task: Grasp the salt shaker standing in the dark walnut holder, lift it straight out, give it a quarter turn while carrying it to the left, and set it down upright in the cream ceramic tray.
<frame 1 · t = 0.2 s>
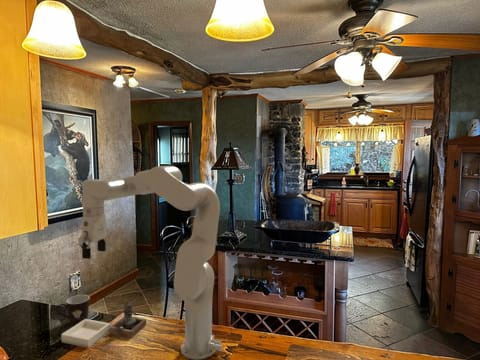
hand: (94, 254, 127), 30 cm above the worktop, fingers open, 9 cm apart
coffee mug: (75, 322, 134), on the worktop
salt shaker: (128, 329, 129), resting in holder
tray: (86, 336, 124), on the worktop
holder: (128, 329, 129), on the worktop
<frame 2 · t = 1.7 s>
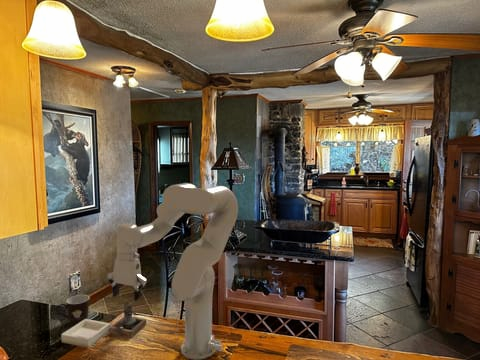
hand: (126, 297, 129), 13 cm above the worktop, fingers open, 9 cm apart
nothing on the worktop moved.
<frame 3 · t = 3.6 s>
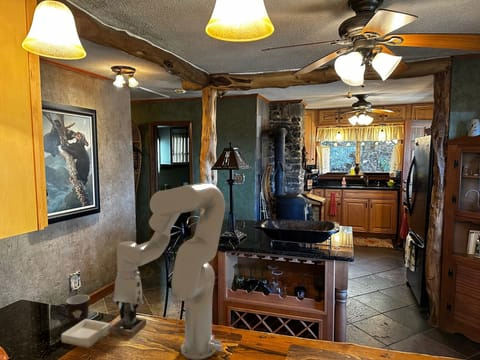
hand: (128, 317, 129), 5 cm above the worktop, fingers closed on salt shaker, 3 cm apart
salt shaker: (128, 329, 129), resting in holder, touching gripper
everything else where it was.
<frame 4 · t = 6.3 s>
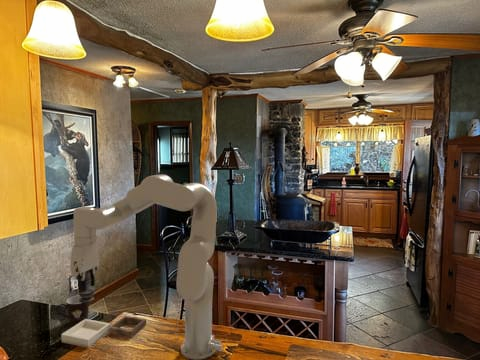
hand: (86, 287, 123), 19 cm above the worktop, fingers closed on salt shaker, 3 cm apart
salt shaker: (86, 299, 123), point 14 cm above the worktop, touching gripper
everything else where it was.
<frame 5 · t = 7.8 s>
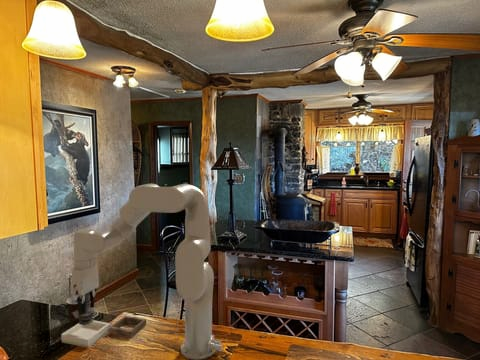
hand: (86, 309, 123), 11 cm above the worktop, fingers closed on salt shaker, 3 cm apart
salt shaker: (86, 321, 124), point 6 cm above the worktop, touching gripper
everything else where it was.
when the fingers open (7 cm above the worktop, at t = 9.2 s): salt shaker drops 1 cm, resting on tray.
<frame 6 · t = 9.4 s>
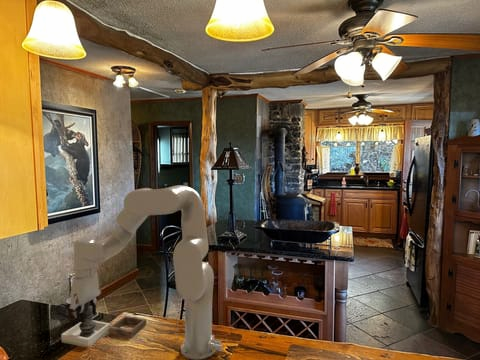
hand: (86, 317, 123), 7 cm above the worktop, fingers open, 5 cm apart
salt shaker: (87, 333, 124), point 1 cm above the worktop, touching tray
everything else where it was.
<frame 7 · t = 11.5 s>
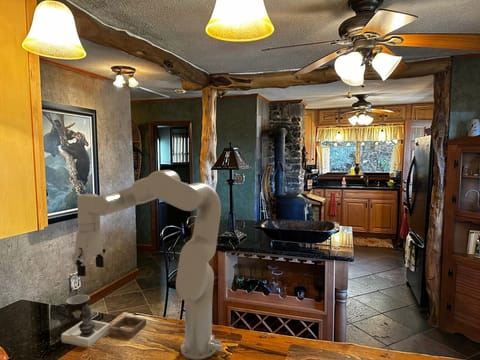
hand: (91, 271, 123), 25 cm above the worktop, fingers open, 9 cm apart
nothing on the worktop moved.
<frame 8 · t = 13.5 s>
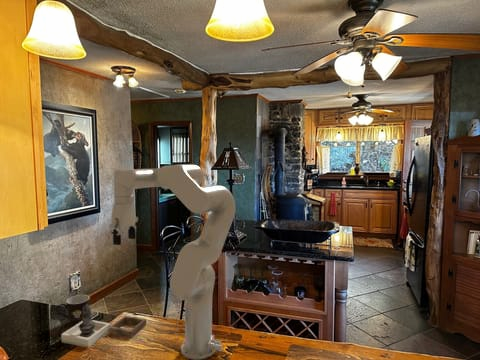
hand: (124, 241, 132), 34 cm above the worktop, fingers open, 9 cm apart
nothing on the worktop moved.
at the end: salt shaker inside the target area on the tray (0.2 cm from its centre), point 0.8 cm above the tray's base; salt shaker tilted 0°; the gripper is holding nothing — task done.
